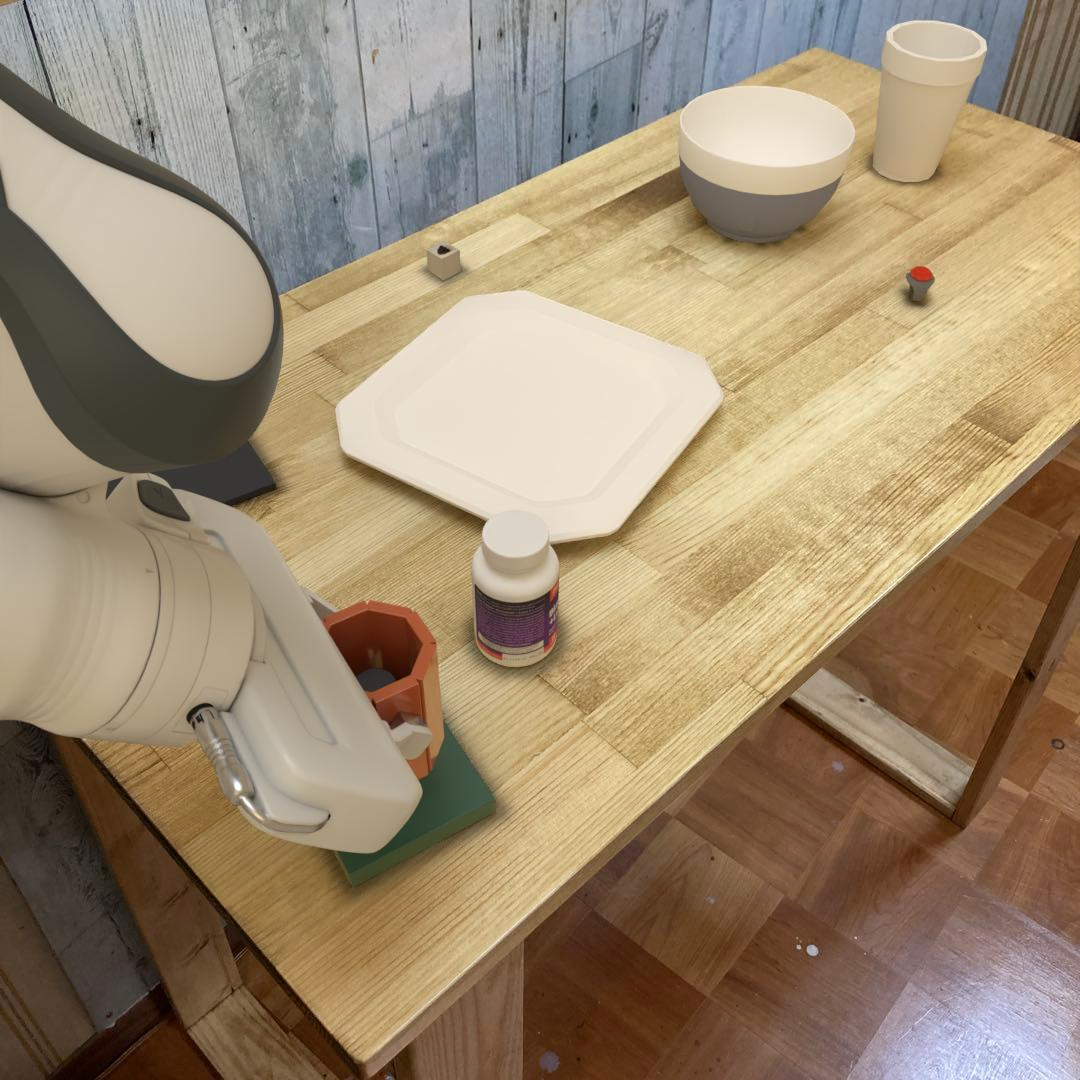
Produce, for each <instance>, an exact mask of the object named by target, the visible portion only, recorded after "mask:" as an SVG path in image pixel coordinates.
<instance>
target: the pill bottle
mask: <svg viewBox="0 0 1080 1080" xmlns="http://www.w3.org/2000/svg"><path fill="white" fill-rule="evenodd" d="M470 569H471V570H470V571H471V573H470V574H471V575H470V576H471V592H472V593H471V595H472V613H473V615H472V617H473V631H474V639H475V643H476V646H477V648H478V649H479V651H480V652H481V654H483V656H485V657H486V658H487V659H488V660H489V661H491V662H492V663H495V664H497V665H500V666H503V667H507V668H508V667H509V668H520V667H527V666H531V665H534V664H535V663H536V664H537V663H538V662H540V661H541V660H543V659H544V658H546V657H547V656H548V655H549V654H550V653H551V652H552V651H553V649H554V647H555V645H556V642H557V638H558V626H559V598H560V573H561V571H560V569H561V568H560V561H559V557H558V555H557V553H556V551H555V550H554V548H553V546H552V545H549V530H548V527H547V525H546V524H545V522H544V521H543V520H542V519H541V518H540V517H538V516H537V515H535V514H533V513H530V512H527V511H522V510H509V511H504V512H501V513H498V514H496V515H494V516H493V517H491V518H490V519H489V520H488V521H485V523H484V525H483V528H482V532H481V543H480V545H479V546H478V547H477V548H476V551H475V552H474V554H473V556H472V559H471V566H470Z"/></svg>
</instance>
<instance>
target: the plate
mask: <svg viewBox="0 0 1080 1080" xmlns="http://www.w3.org/2000/svg"><path fill="white" fill-rule="evenodd" d="M724 400H725V392H723V390H722V387H721V386H720V384H719V382H718V380H717V378H716V376H715V374H714V372H713V371H712V368H711V367H710V365H709V363H708V361H707V360H706V358H704V357H703V356H702V355H700V354H698V353H696V352H693V351H690V350H687V349H685V348H682V347H679V346H677V345H674V344H672V343H669V342H666V341H664V340H661V339H658V338H656V337H652V336H650V335H648V334H644V333H642V332H640V331H637V330H634V329H631V328H628V327H625V326H623V325H620V324H617V323H615V322H613V321H609V320H607V319H605V318H601V317H599V316H597V315H593V314H591V313H588V312H585V311H582V310H581V309H577V308H575V307H572V306H569V305H567V304H563V303H562V302H558V301H556V300H553V299H551V298H547V297H545V296H542V295H539V294H537V293H534V292H531V291H529V290H523V289H518V290H509V291H501V292H493V293H485V294H483V293H482V294H476V295H469V296H466V297H464V298H462V299H461V300H459V301H458V302H457V303H456V304H455V305H453V306H452V307H450V309H448V310H447V311H446V312H445V313H443V315H441V316H439V318H437V319H436V320H435V321H434V322H433V323H431V324H430V325H429V326H428V327H427V328H425V330H423V331H422V332H421V333H420V334H419V335H418V336H416V337H415V338H414V339H413V340H412V341H410V342H409V343H407V345H405V346H404V347H403V348H402V349H400V351H398V352H397V353H396V354H394V355H393V356H392V357H391V358H390V359H389V360H387V361H386V362H385V363H384V364H382V366H380V367H378V368H377V369H376V370H375V371H374V372H373V373H371V375H369V376H368V377H367V378H366V379H364V380H363V381H362V382H361V383H360V384H359V385H357V386H356V387H355V388H353V390H351V391H350V392H349V393H348V394H346V396H344V397H343V398H342V399H340V400H339V402H338V403H337V404H336V406H335V409H334V414H335V420H336V426H337V434H338V440H339V441H338V442H339V446H340V447H339V448H340V450H341V451H342V452H343V454H345V456H346V457H347V458H350V459H352V460H355V461H357V462H359V463H361V464H363V465H365V466H368V467H369V468H372V469H374V470H376V471H378V472H380V473H383V474H385V475H387V476H389V477H391V478H393V479H395V480H398V481H400V482H401V483H404V484H406V485H408V486H411V487H412V488H414V489H417V490H418V491H421V492H423V493H425V494H427V495H429V496H432V497H434V498H436V499H439V500H440V501H442V502H445V503H447V504H449V505H450V506H453V507H455V508H457V509H460V510H462V511H463V512H466V513H468V514H470V515H472V516H475V517H476V518H478V519H481V520H483V521H485V522H487V521H488V520H489V519H490V518H491V517H493V516H494V515H496V514H498V513H501V512H504V511H509V510H522V511H527V512H530V513H533V514H535V515H537V516H538V517H540V518H541V519H542V520H543V521H544V522H545V524H546V525H547V527H548V530H549V545H550V546H552V545H557V544H565V543H570V542H577V541H584V540H589V539H597V538H602V537H603V538H604V537H609V536H611V535H612V534H614V533H617V532H618V531H619V530H620V528H621V527H622V526H623V525H624V524H625V522H626V521H627V520H628V518H629V517H630V516H631V515H632V514H633V513H634V512H635V510H636V509H637V508H638V506H639V505H640V504H641V503H642V502H643V501H644V500H645V498H646V497H647V496H648V494H649V493H650V492H651V491H652V490H653V488H655V486H656V485H657V483H658V482H659V481H660V480H661V479H662V478H663V476H664V475H665V474H666V472H667V471H668V470H669V469H670V468H671V467H672V465H674V463H675V462H676V461H677V459H678V458H679V457H680V455H681V454H682V453H683V452H684V451H685V450H686V448H687V447H688V446H689V444H691V442H692V441H693V440H694V439H695V437H696V436H697V435H698V434H699V433H700V431H702V429H703V427H704V426H705V425H706V424H707V423H708V422H709V420H710V419H711V418H712V417H713V416H714V414H716V412H717V411H718V409H719V408H720V407H721V406H722V404H723V403H724Z"/></svg>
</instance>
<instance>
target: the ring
mask: <svg viewBox="0 0 1080 1080" xmlns="http://www.w3.org/2000/svg"><path fill="white" fill-rule="evenodd" d="M905 279H906V281H907V284H909V292H910V299H911V301H913V302H914V301H915V302H920V301H922V300H924V298H925V297H926V295H927V293H928V291H929V289H930V288H931V287H932V286H933V285H934V283H935V281H936V277H935V276H934V273H933V272H932V271H931V270H930V268H928V267H927V266H923V265H919V266H915V267H913V268H911V269H910V271H909V272H907V273H906V274H905Z"/></svg>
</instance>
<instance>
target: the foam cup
mask: <svg viewBox="0 0 1080 1080" xmlns="http://www.w3.org/2000/svg"><path fill="white" fill-rule="evenodd" d="M987 52H988V45H987V40H986V38H984V37H982V36H981V35H980V34H979V33H978V32H977V31H975V30H972V29H970V28H967V27H964V26H962V25H959V24H957V23H950V22H945V21H940V20H910V21H905V22H900V23H896V24H895V25H893V26H892V27H890V28H889V29H888V30H886V34H885V38H884V42H883V45H882V50H881V53H880V54H881V55H880V63H881V74H880V85H879V94H878V103H877V104H878V105H877V114H876V124H875V134H874V143H873V153H872V155H873V156H872V159H873V160H872V168H873V169H874V170H875V171H876V172H877V174H878V175H880V176H883V177H885V178H887V179H888V180H892V181H897V182H901V183H919V182H924V181H927V180H929V179H930V178H931V177H933V175H935V173H936V169H937V168H938V166H939V164H940V161H941V159H942V157H943V155H944V153H945V150H946V148H947V145H948V143H949V141H950V139H951V137H952V134H953V132H954V129H955V128H956V125H957V122H958V120H959V119H960V117H961V113H962V111H963V109H964V107H965V104H966V102H967V100H968V98H969V95H970V94H971V91H972V88H973V86H974V84H975V81H976V80H977V77H979V75H980V74H981V72H982V69H983V66H984V62H985V58H986V55H987Z"/></svg>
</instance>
